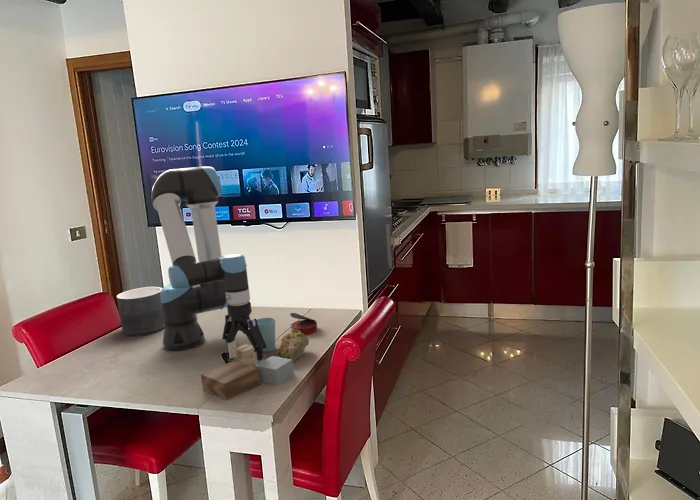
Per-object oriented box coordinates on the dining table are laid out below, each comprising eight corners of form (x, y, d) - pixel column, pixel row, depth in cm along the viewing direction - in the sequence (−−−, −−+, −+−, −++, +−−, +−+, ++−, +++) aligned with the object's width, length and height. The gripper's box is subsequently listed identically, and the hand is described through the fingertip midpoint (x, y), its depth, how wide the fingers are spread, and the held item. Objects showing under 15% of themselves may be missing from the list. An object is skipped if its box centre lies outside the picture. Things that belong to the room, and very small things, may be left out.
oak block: (235, 366, 175) (233, 349, 174) (247, 360, 179) (245, 344, 177) (244, 369, 172) (242, 352, 170) (257, 364, 175) (255, 346, 174)
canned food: (293, 342, 206) (286, 317, 208) (318, 335, 208) (311, 310, 211) (295, 338, 195) (287, 312, 198) (321, 330, 198) (313, 305, 200)
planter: (114, 332, 222) (108, 295, 219) (154, 319, 235) (148, 285, 232) (136, 339, 210) (129, 301, 207) (176, 325, 223) (170, 289, 220)
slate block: (257, 381, 163) (255, 365, 162) (274, 370, 169) (272, 355, 168) (277, 385, 158) (275, 369, 157) (293, 374, 165) (292, 359, 164)
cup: (281, 349, 186) (277, 321, 184) (259, 355, 183) (256, 326, 181) (275, 343, 193) (271, 316, 191) (254, 348, 190) (250, 320, 188)
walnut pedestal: (203, 390, 159) (200, 374, 158) (236, 375, 167) (234, 360, 166) (226, 400, 151) (224, 383, 150) (260, 384, 159) (258, 368, 158)
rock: (296, 374, 176) (292, 355, 170) (272, 368, 179) (268, 348, 172) (310, 348, 185) (307, 328, 178) (287, 342, 187) (284, 322, 181)
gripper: (206, 300, 177) (215, 360, 180) (253, 311, 160) (261, 377, 164) (225, 295, 182) (233, 353, 186) (272, 304, 165) (280, 368, 169)
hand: (246, 364), depth 175 cm, fingers open, 13 cm apart
